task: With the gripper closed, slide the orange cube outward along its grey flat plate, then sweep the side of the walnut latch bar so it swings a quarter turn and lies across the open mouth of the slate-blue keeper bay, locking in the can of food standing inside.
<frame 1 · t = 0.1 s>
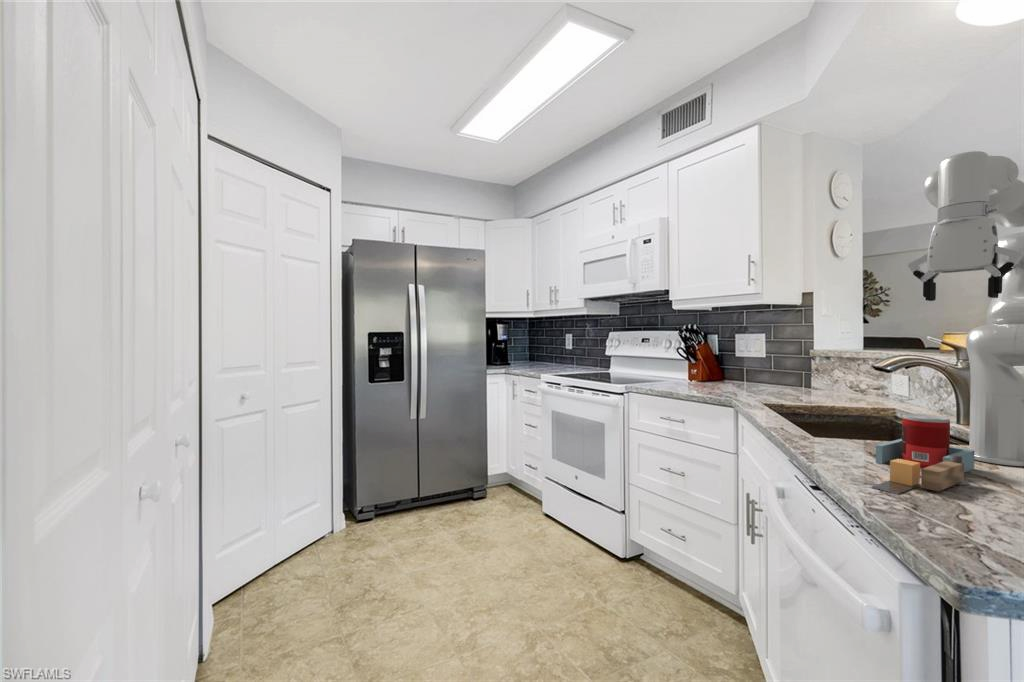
hand: (960, 299, 95), 37 cm above the countertop, tool pointing down, fingers open, 9 cm apart
orange cube: (904, 472, 91), point 2 cm above the countertop, slide at 0.0 cm
latch bar: (944, 471, 89), point 3 cm above the countertop, hinge at 0.0°
grey flat plate: (896, 486, 89), on the countertop
hinge base: (955, 482, 92), on the countertop
canned food: (924, 466, 103), resting in keeper bay
keeper bay: (923, 465, 103), on the countertop
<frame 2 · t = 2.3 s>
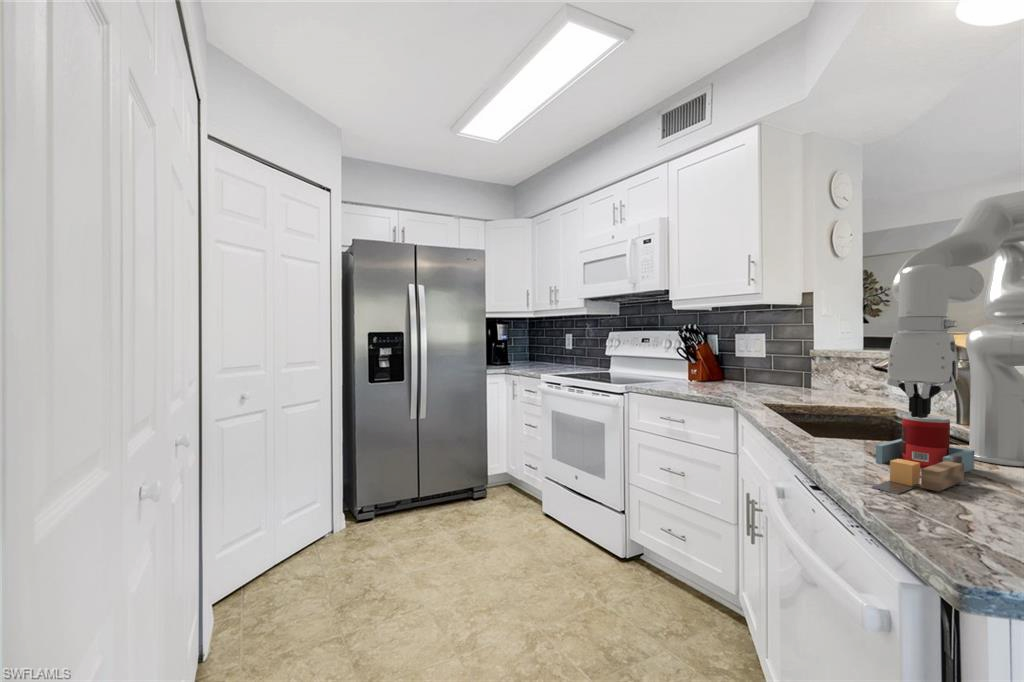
hand: (919, 416, 94), 13 cm above the countertop, tool pointing down, fingers closed
nothing on the countertop moved.
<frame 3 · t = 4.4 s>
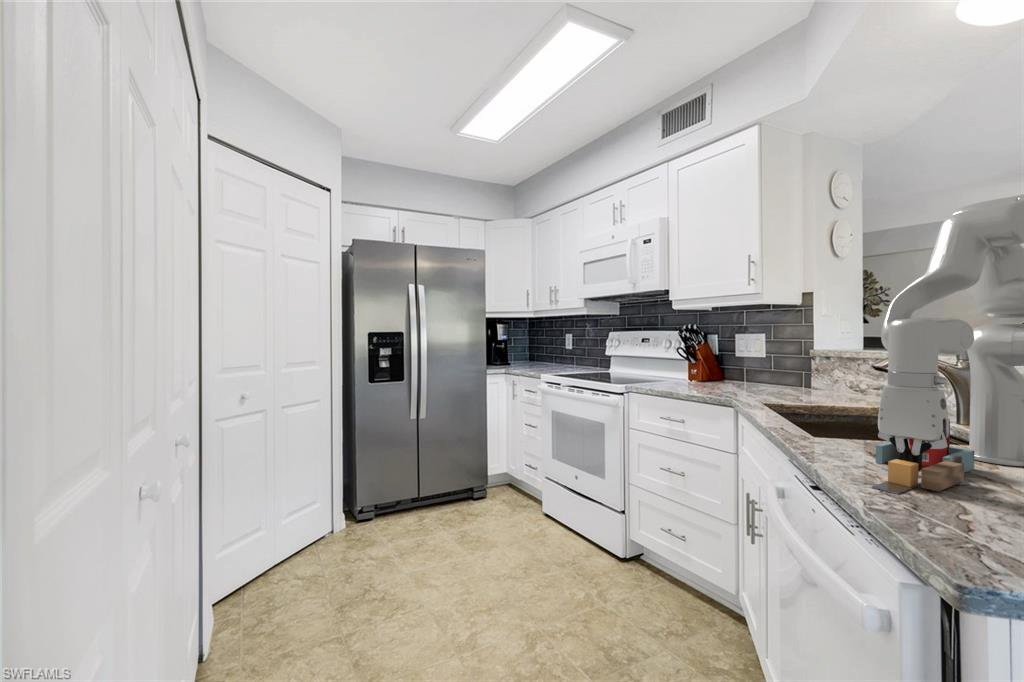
hand: (910, 472, 92), 2 cm above the countertop, tool pointing down, fingers closed
orange cube: (903, 472, 90), point 2 cm above the countertop, slide at 0.8 cm, touching gripper
everything else where it was.
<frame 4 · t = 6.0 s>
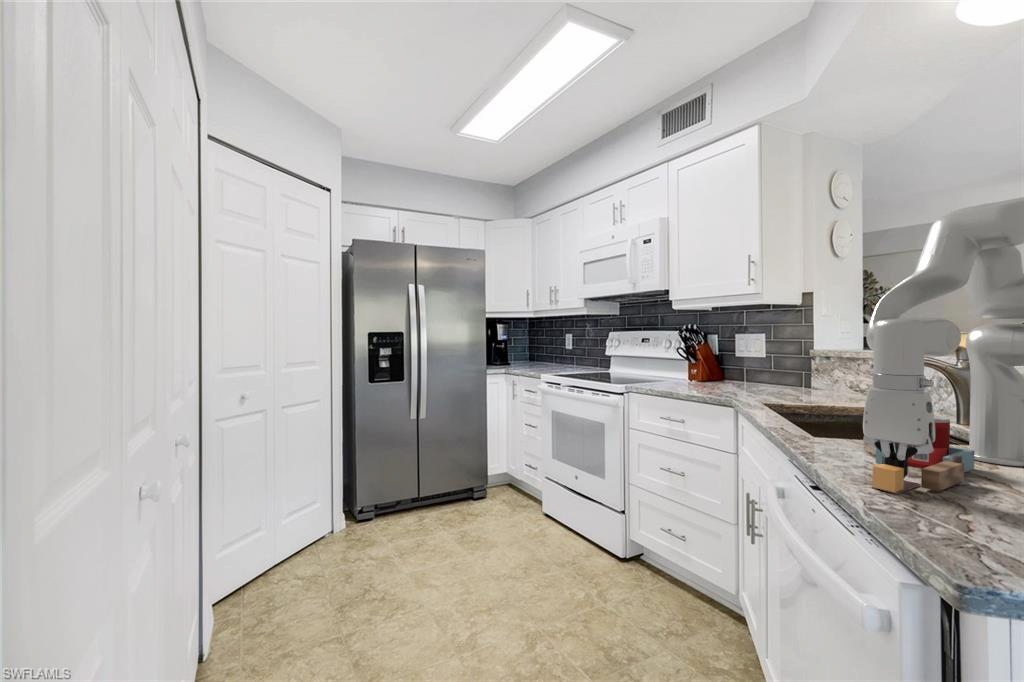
hand: (896, 478, 89), 2 cm above the countertop, tool pointing down, fingers closed
orange cube: (888, 477, 87), point 2 cm above the countertop, slide at 7.0 cm, touching gripper
everything else where it was.
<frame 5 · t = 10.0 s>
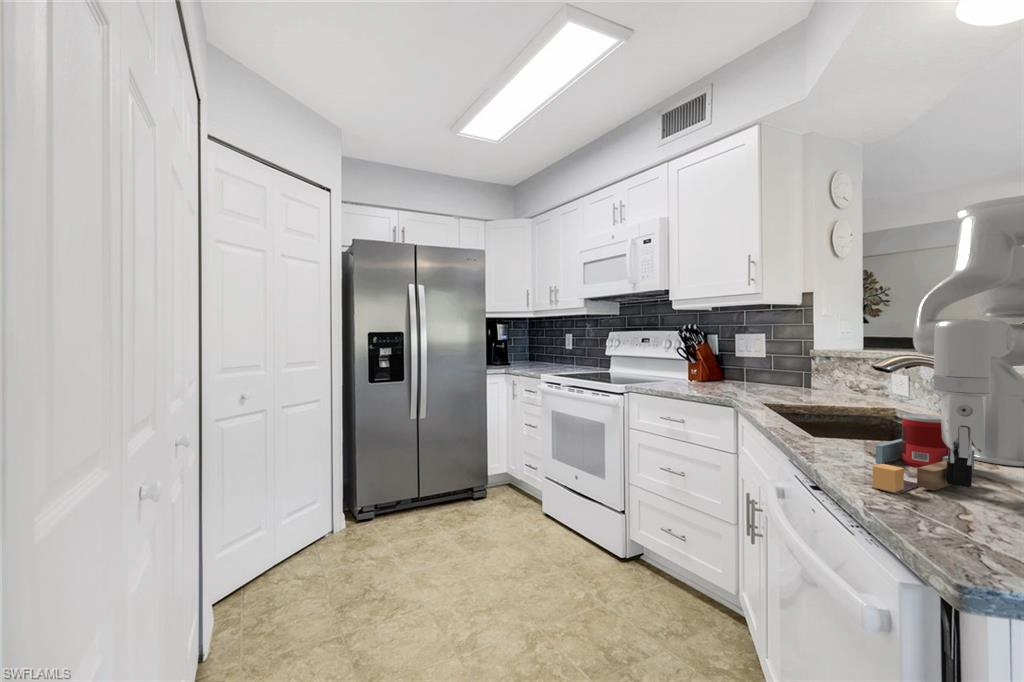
hand: (958, 484, 86), 2 cm above the countertop, tool pointing down, fingers closed
orange cube: (888, 477, 87), point 2 cm above the countertop, slide at 7.0 cm
latch bar: (942, 471, 89), point 3 cm above the countertop, hinge at -3.3°, touching gripper
everything else where it was.
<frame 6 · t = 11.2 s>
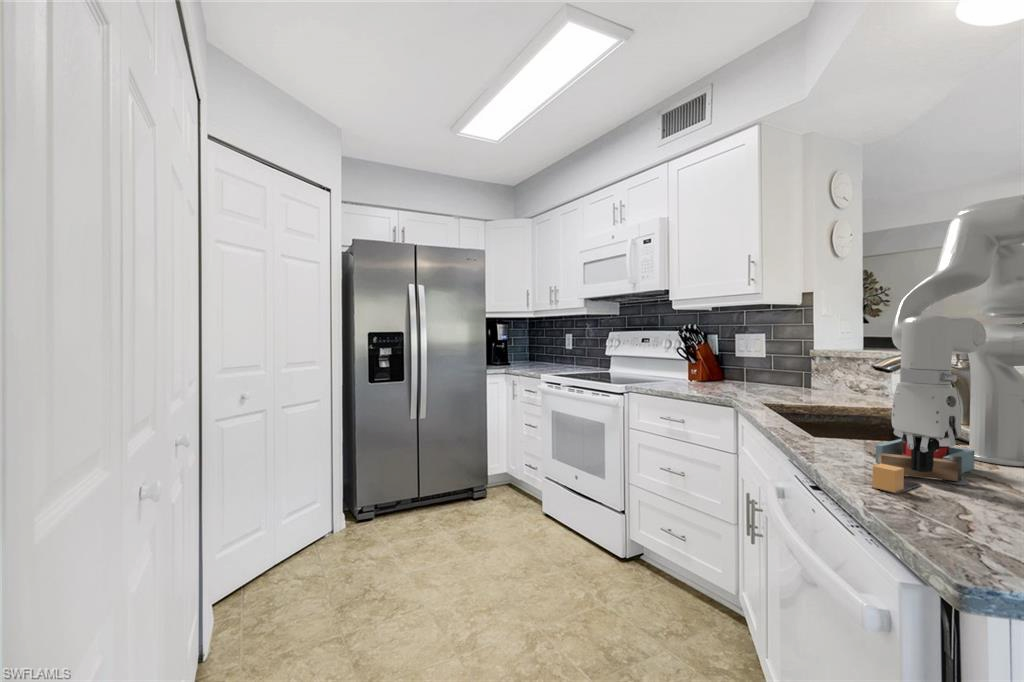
hand: (921, 470, 92), 2 cm above the countertop, tool pointing down, fingers closed
latch bar: (919, 463, 94), point 3 cm above the countertop, hinge at -57.1°, touching gripper
everything else where it was.
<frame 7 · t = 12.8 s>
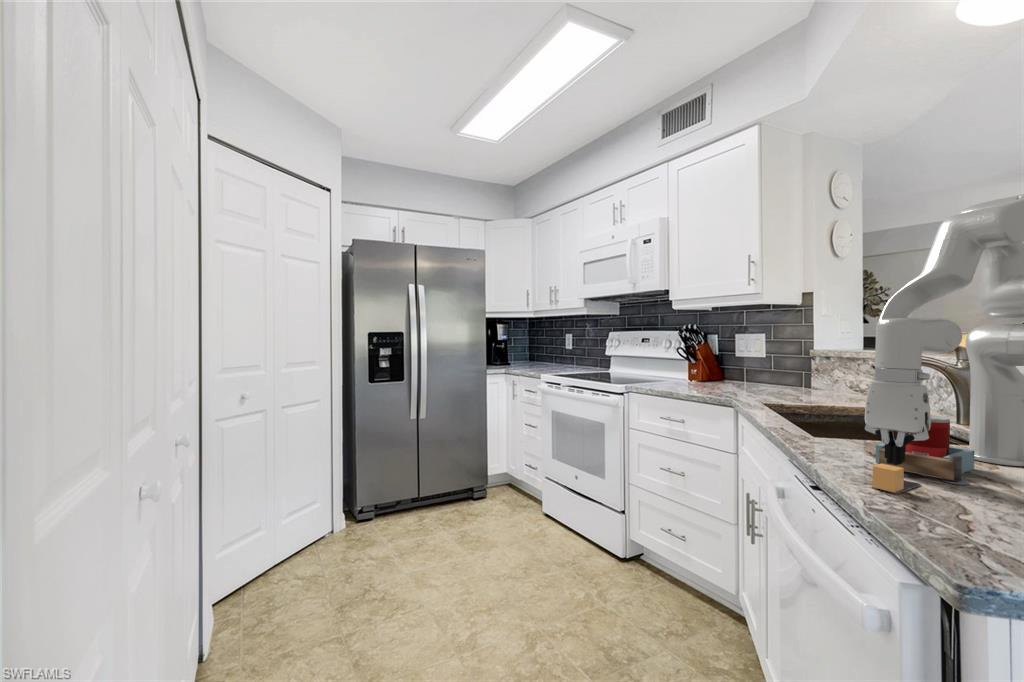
hand: (894, 463, 97), 2 cm above the countertop, tool pointing down, fingers closed
latch bar: (919, 461, 96), point 3 cm above the countertop, hinge at -84.6°, touching gripper
everything else where it was.
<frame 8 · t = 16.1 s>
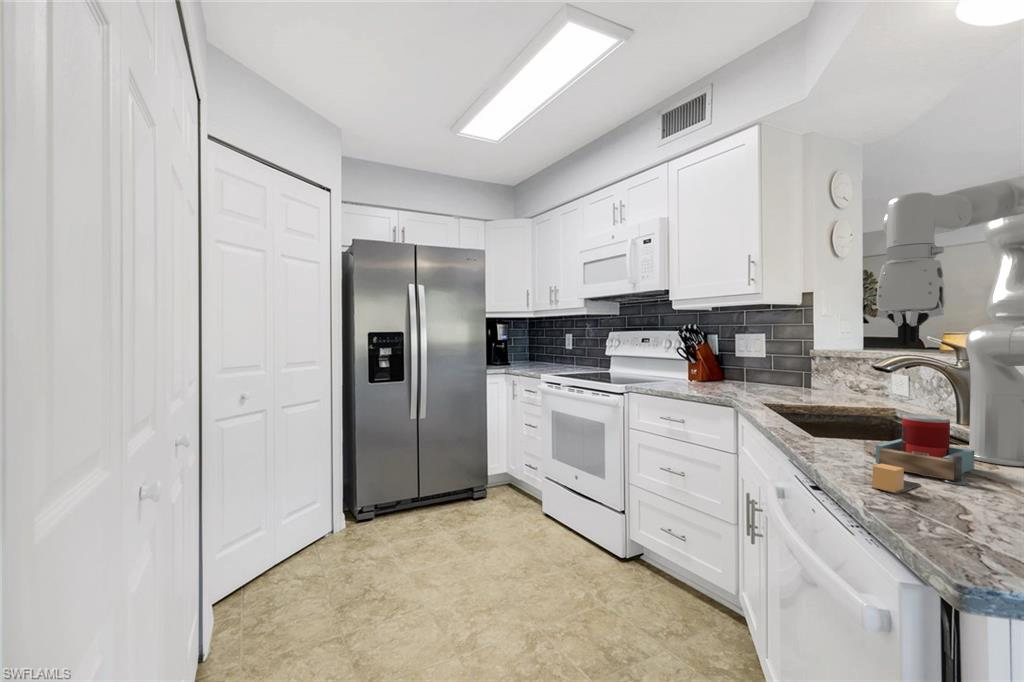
hand: (908, 345, 95), 27 cm above the countertop, tool pointing down, fingers closed
latch bar: (919, 461, 96), point 3 cm above the countertop, hinge at -84.6°
everything else where it was.
at the end: latch bar at -85° (first picture: +0°); orange cube slide at 7.0 cm; canned food moved 0.2 cm from its start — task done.
